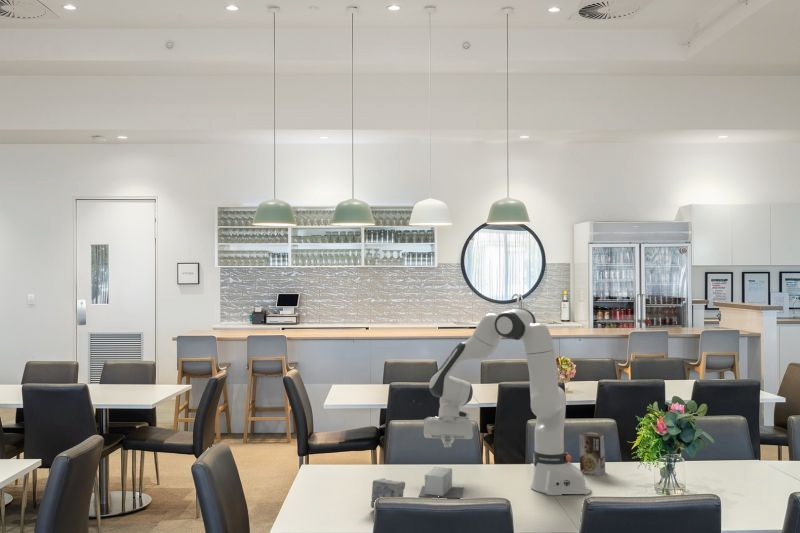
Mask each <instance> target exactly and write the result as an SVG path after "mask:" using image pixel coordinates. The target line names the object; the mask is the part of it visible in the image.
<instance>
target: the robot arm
mask: <svg viewBox="0 0 800 533" xmlns="http://www.w3.org/2000/svg"><path fill="white" fill-rule="evenodd" d="M502 338H505V339H510V340H511V339H512V340H516V341H519V340H521V341H522V342H523V345H524V351H525V357H526V363H527V367H528V373H529V392H530V393H529V396H530V409H531V412H532V413H533V414H534V416H536V420H535V427H534V450H533V454H532V456H533V458H532V459H533V466H534V468H533V469H534V470H533V475H532V476H533V477H532V482H531V485H530V488H531V489H532V490H534V491H536V492H539V493H543V494H546V495H548V496H563V495H562V494H585V495H590V494H591V493H592V488H591V485H590V484H589V483H587V482H586V481H585V476H584V473H582V472H581V471H580V468H578V467H576V466H575V464H573V463H571V461H572V456H571V455H570V453H568V452H567V451H566V450H565V441H564V440H565V439H564V438H565V434H564V432H565V431H564V430H565V422H566V421H565V420H566V408H567V405H566V404H567V396H566V393H565V390H563V388H562V387H560V386H559V380H558V376H559V375H558V373H559V371H558V370H559V369H558V363H557V357H556V353H555V351H556V350H555V345H554V343H553V342H554V341H553V339H552V336H551V333H550V330H549V327H547V325H545V324H543V323H539V322H537V321H536V318H535V315H534V314H533V312H531V311H530V310H528V309H525V308H519V309H517V308H512V309H509V310H504V311H502V312H500V314H497V313H495V312H494V313H493V312H489V313H486V314H485V315H484V316H483V317H482V318H481V320H480V321H479V323H478V324H477V326H476V328H475V329H474V331H473V333H472V335H471V336H470V337H469V338H468V339H466V340H464V341H461V342H459V343H458V344H457V345H456V347H455V348H454V349H453V350H452V351H451V353H450V354H449V356H448V357H447V358H446V359H445V361H444V362H443V363H442V365H441V366H440V368H438V370H437V371H436V372H435V373H434V374H433V375H432V377H431V378H430V381H429V383H428V389H429V391H430V393H431V395H433V397H437V398H439V408H438V416H433V417H432V416H428V417H426V418H424V420H423V425H424V426H423V436H424V438H425V439H441V441H442V443H443V447H444V448H452V444H453V443H454V442H455V440H456V439H457V440H458V439H459V440H471V439H472V438H473V436H474V435H473V434H474V433H473V432H474V431H473V424H472V421H471V416H470V414H469V413H468V412H466V411H461V410H460V408H462V407H464V406H465V405H468V404H469V403H470V402H471V400H472V398H473V394H474V390H473V389H474V388H473V387H472V386H473V385H472V383H470V382H469V381H466V380H464V379H460V378H457V377H454V376H452V375H451V374H452V373H453V371H454V370H455V369H456V367H457V366H458V364H460V363H462V362H464V361H470V360H471V361H472V360H478V361H479V360H485V359H488V358H489V357H490V358H491V356H493V355H494V353H495V351H496V349H497V347H498V346H499V343H500V342H501V340H502ZM446 439H448V441H446Z"/></svg>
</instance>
